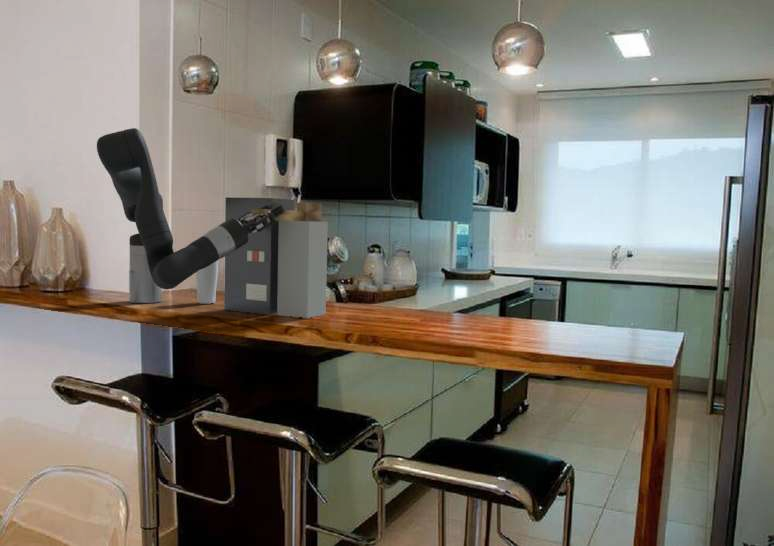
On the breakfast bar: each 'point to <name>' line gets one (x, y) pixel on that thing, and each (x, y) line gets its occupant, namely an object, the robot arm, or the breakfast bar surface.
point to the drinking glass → (207, 284)
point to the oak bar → (298, 213)
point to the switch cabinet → (253, 261)
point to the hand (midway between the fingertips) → (275, 208)
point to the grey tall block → (302, 268)
